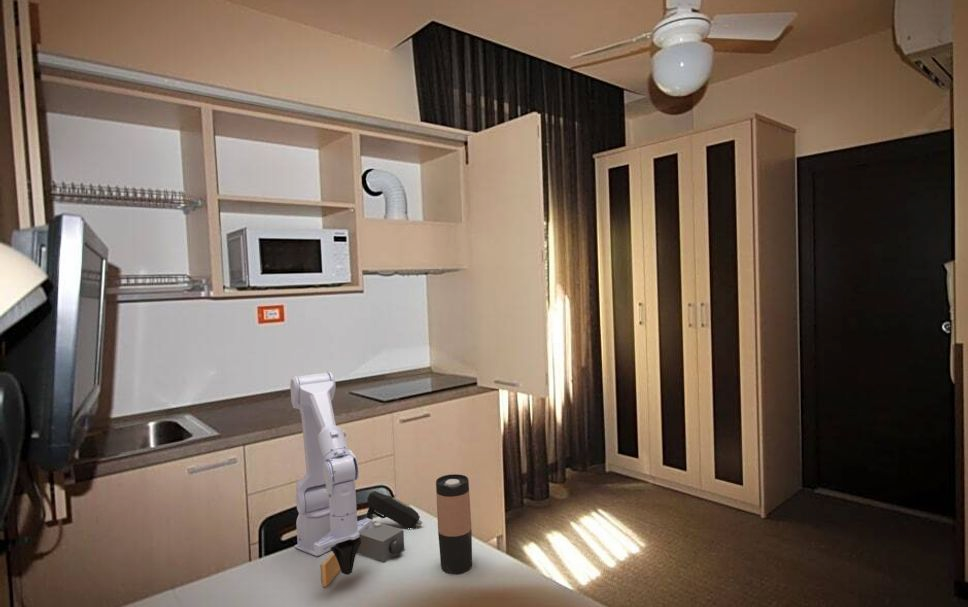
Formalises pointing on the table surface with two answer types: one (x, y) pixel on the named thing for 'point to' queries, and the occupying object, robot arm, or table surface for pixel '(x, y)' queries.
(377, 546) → the camera housing
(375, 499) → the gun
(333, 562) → the side door
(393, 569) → the table surface
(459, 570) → the travel mug
